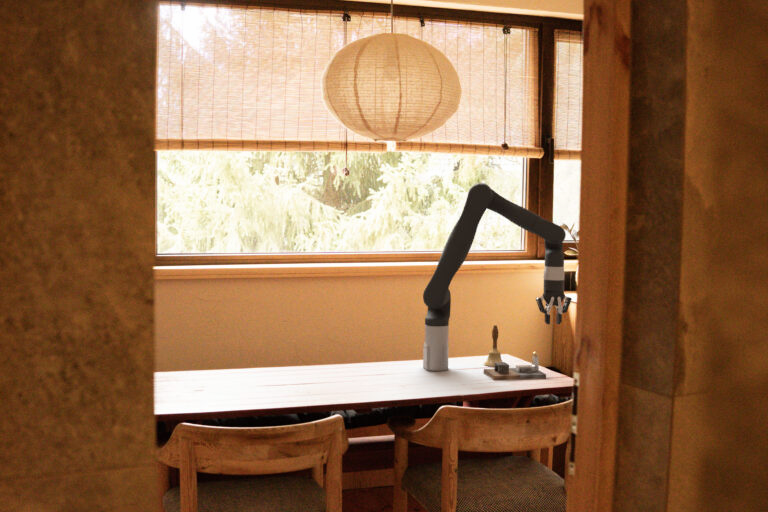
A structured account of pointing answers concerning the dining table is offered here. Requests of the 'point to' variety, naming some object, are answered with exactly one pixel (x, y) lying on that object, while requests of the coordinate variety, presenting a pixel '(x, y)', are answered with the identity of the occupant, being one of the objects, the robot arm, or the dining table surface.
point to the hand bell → (494, 350)
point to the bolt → (534, 365)
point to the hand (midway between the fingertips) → (553, 323)
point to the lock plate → (512, 373)
